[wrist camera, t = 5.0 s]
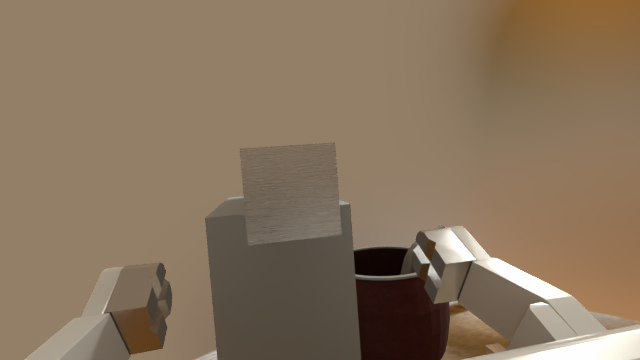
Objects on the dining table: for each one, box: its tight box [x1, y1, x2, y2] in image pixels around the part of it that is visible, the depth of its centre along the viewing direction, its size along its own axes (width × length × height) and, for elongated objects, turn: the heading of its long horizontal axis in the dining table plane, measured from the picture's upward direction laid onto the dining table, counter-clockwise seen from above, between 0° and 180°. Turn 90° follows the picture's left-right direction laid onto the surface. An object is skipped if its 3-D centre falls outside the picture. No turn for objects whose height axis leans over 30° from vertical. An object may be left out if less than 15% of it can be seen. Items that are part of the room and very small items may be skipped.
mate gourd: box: [353, 225, 450, 360], centre depth 39 cm, size 16×14×20 cm
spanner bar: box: [240, 143, 342, 245], centre depth 20 cm, size 3×20×3 cm, turn 10°
